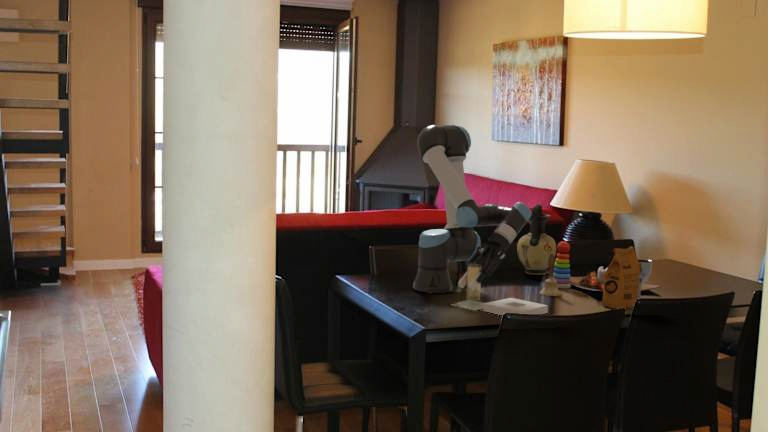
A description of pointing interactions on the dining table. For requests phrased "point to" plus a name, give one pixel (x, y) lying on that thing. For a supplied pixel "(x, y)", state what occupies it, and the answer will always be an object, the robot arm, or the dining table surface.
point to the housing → (514, 307)
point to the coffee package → (622, 279)
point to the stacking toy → (562, 266)
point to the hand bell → (550, 280)
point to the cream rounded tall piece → (536, 244)
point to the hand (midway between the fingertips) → (465, 287)
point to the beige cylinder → (471, 273)
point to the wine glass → (644, 272)
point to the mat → (474, 305)
